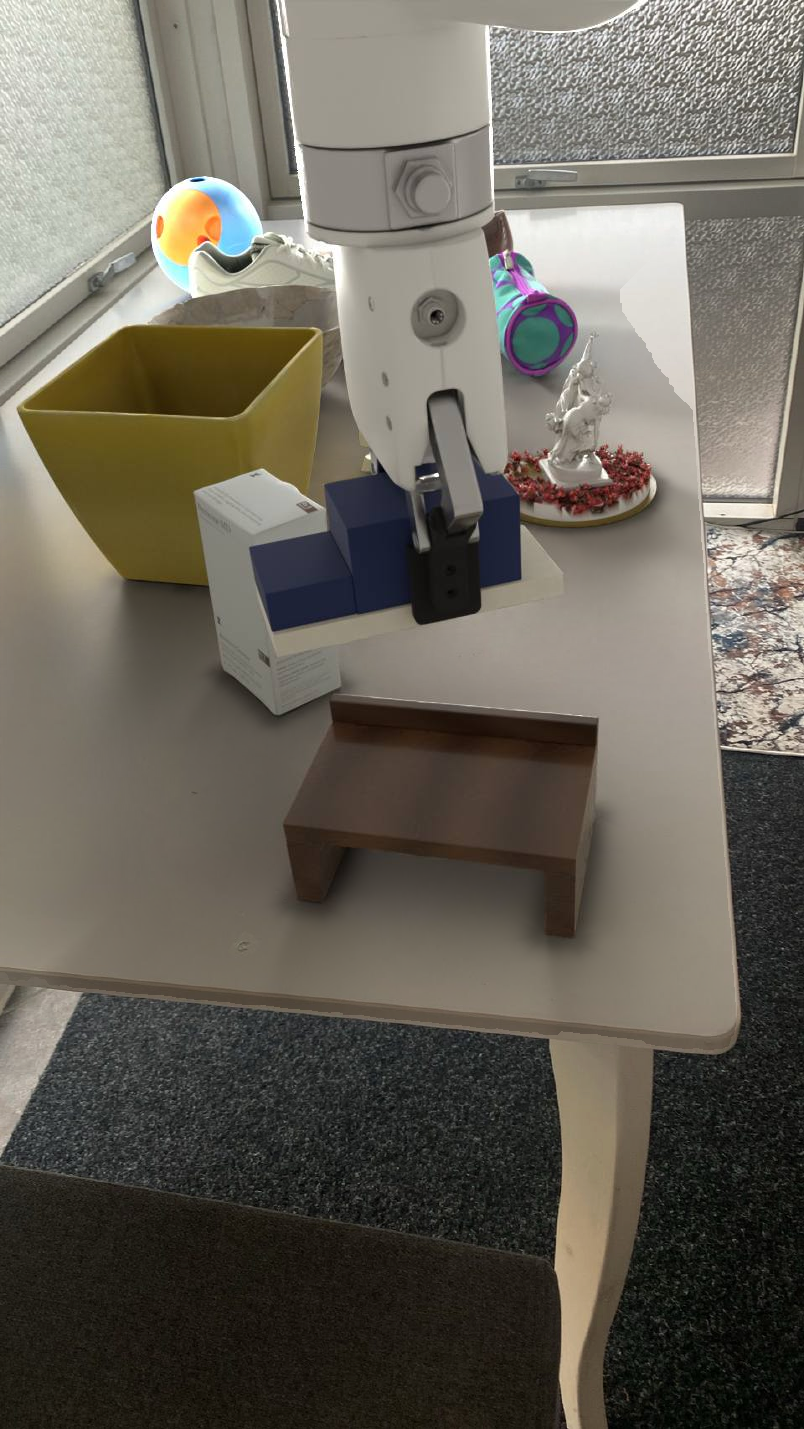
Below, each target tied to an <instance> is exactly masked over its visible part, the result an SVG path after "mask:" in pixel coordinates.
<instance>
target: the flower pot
mask: <svg viewBox="0 0 804 1429" xmlns="http://www.w3.org/2000/svg"><path fill="white" fill-rule="evenodd" d="M322 345H323V343H322V331H321V330H320V329H317V328H296V327H252V326H199V325H147V324H141V323H139V324H128V325H123V326H121V327H119V328H118V329H116V330H115V331H113V332H112V333H111V334H109V335H108V336H107V337H105V339H103V340H102V341H100V342H99V343H98V344H97V345H95V346H94V347H92V348H91V349H90V350H88V351H87V352H85V354H83V355H82V356H80V357H79V358H77V359H76V360H75V361H74V362H72V363H71V364H70V365H69V366H66V368H65V369H64V370H62V371H61V372H59V373H58V374H56V375H55V376H54V377H52V378H51V379H50V380H49V381H48V382H46V383H45V384H44V385H43V386H41V387H40V388H38V389H37V390H36V391H35V392H33V393H32V394H31V395H29V396H28V397H27V398H25V399H24V400H22V402H19V404H18V405H17V406H16V412H17V414H18V417H19V419H20V421H21V423H22V426H23V427H24V430H25V432H26V433H27V435H28V437H29V439H30V442H31V444H32V445H33V447H34V450H35V451H36V453H37V455H38V457H39V459H40V461H41V462H42V464H43V466H44V468H45V469H46V471H47V473H48V475H49V477H50V478H51V480H52V482H53V483H54V485H55V487H56V489H57V490H58V492H59V493H60V495H61V497H62V498H63V500H64V501H65V503H66V505H67V506H68V507H69V509H70V511H71V512H72V514H73V515H74V517H75V519H76V520H77V521H78V522H79V524H80V525H81V526H82V528H83V529H84V531H85V532H86V534H87V535H88V536H89V538H90V539H91V541H92V542H93V543H94V544H95V546H96V547H97V548H98V550H99V551H100V552H101V554H102V555H103V556H104V557H105V559H106V560H107V561H108V563H110V565H111V566H112V567H113V568H114V569H115V570H116V572H117V573H118V575H119V576H121V577H122V578H124V579H126V580H127V579H128V580H139V581H150V582H158V583H159V582H161V583H170V584H171V583H172V584H182V585H183V584H185V585H197V586H207V587H209V582H208V575H207V569H206V563H205V557H204V550H203V544H202V538H201V532H200V526H199V519H198V513H197V508H196V502H195V496H194V491H196V490H198V489H201V488H204V487H207V486H210V485H214V484H217V483H220V482H223V481H226V480H229V479H232V478H234V477H237V476H240V475H243V474H246V473H249V472H252V471H255V470H258V469H264V470H266V471H267V472H268V473H270V474H271V475H273V476H274V477H276V478H277V479H279V480H280V481H282V482H286V483H289V484H291V485H293V486H295V487H296V488H297V489H298V490H299V492H300V493H301V494H302V495H304V496H305V497H307V495H308V490H309V485H310V480H311V474H312V469H313V463H314V457H315V451H316V444H317V435H318V427H319V417H320V409H321V408H320V407H321V394H322V389H321V378H322Z"/></svg>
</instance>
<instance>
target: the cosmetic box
mask: <svg viewBox="0 0 804 1429" xmlns="http://www.w3.org/2000/svg"><path fill="white" fill-rule="evenodd" d="M194 496H195V502H196V508H197V513H198V519H199V526H200V532H201V538H202V544H203V550H204V557H205V563H206V569H207V575H208V582H209V586H208V588H209V594H210V600H211V605H212V611H213V612H212V613H213V616H214V617H213V618H214V623H215V631H216V636H217V643H218V650H219V656H220V661H221V666H222V669H223V671H224V672H226V673H227V674H229V675H230V676H232V677H233V678H235V679H236V680H237V681H238V682H239V683H241V684H242V685H243V686H244V687H245V688H246V689H247V690H249V691H250V692H251V693H252V695H254V696H255V697H256V698H257V699H258V700H260V701H261V702H262V703H263V704H264V706H266V708H268V709H269V711H270V712H271V713H272V714H273V715H275V716H281V715H283V714H285V713H288V712H290V711H292V710H295V709H296V708H299V707H300V706H302V705H304V704H307V703H309V702H311V701H314V700H316V699H318V698H320V697H322V696H324V695H326V694H329V693H331V692H333V691H335V690H337V689H340V688H341V687H342V685H343V684H342V678H341V669H340V668H341V667H340V655H339V644H336V645H331V646H326V647H322V648H317V649H313V650H308V651H304V652H299V653H294V654H290V655H285V656H281V657H277V655H276V652H275V649H274V646H273V643H272V640H271V637H270V634H269V631H268V628H267V625H266V622H265V619H264V616H263V613H262V610H261V607H260V604H259V601H258V596H257V591H256V586H255V578H254V573H253V567H252V562H251V557H250V551H249V547H251V546H256V545H261V544H266V543H271V542H276V541H281V540H286V539H291V538H295V537H300V536H305V535H310V534H315V533H320V532H325V531H328V522H327V520H328V519H327V508H325V507H323V506H322V505H320V504H319V503H316V502H315V501H314V500H312V499H310V498H308V497H307V496H306V497H305V496H304V495H302V494H301V493H300V492H299V490H298V489H297V488H296V487H295V486H293V485H291V484H289V483H286V482H282V481H280V480H279V479H277V478H276V477H274V476H273V475H271V474H270V473H268V472H267V471H266V470H264V469H258V470H255V471H252V472H249V473H246V474H243V475H240V476H237V477H234V478H232V479H229V480H226V481H223V482H220V483H217V484H214V485H210V486H207V487H204V488H201V489H198V490H196V491H194Z"/></svg>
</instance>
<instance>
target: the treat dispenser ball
mask: <svg viewBox="0 0 804 1429" xmlns="http://www.w3.org/2000/svg"><path fill="white" fill-rule="evenodd" d="M151 222H152V223H151V230H150V233H151V234H150V235H151V245H152V250H153V254H154V256H155V259H156V261H157V263H158V265H159V267H160V268H161V270H162V271H163V272H164V274H165V276H167V278H168V279H169V280H170V281H171V282H172V283H173V284H175V285H176V286H177V287H179V288H180V289H182V290H184V291H185V292H187V293H189V294H191V293H190V280H189V259H190V256H191V254H192V253H193V252H194V250H195V249H196V248H197V247H198V246H200V245H201V244H202V243H203V242H207V241H208V242H211V243H212V244H213V245H215V246H216V247H217V248H218V249H219V250H220V251H222V252H223V253H225V254H227V255H231V256H235V255H239V254H241V253H243V252H244V251H245V250H247V249H248V248H249V247H251V244H252V240H253V238H254V237H255V236H257V235H260V236H263V235H264V234H263V227H262V223H261V220H260V217H259V215H258V213H257V211H256V208H255V207H254V206H253V204H252V203H251V201H250V200H249V199H248V197H247V196H246V195H245V194H244V193H243V192H242V191H241V190H240V189H238V188H237V187H236V186H235V185H233V184H231V183H229V182H228V181H225V180H223V179H219V178H215V177H209V176H197V177H191V178H188V179H185V180H183V181H181V182H179V183H177V184H175V185H174V186H173V187H172V188H170V189H169V191H167V192H166V193H165V194H164V195H163V196H162V198H161V199H160V201H159V202H158V204H157V206H156V207H155V210H154V213H153V217H152V221H151Z"/></svg>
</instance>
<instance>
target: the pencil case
mask: <svg viewBox="0 0 804 1429" xmlns="http://www.w3.org/2000/svg"><path fill="white" fill-rule="evenodd" d="M489 262H490V268H491V274H492V281H493V288H494V296H495V304H496V312H497V322H498V332H499V342H500V354H502V356H503V357H504V359H506V360H507V362H508V363H509V364H510V365H511V366H512V367H513V369H515V370H516V371H517V372H519V373H521V374H523V375H526V376H530V377H542V376H544V375H546V374H548V373H550V372H551V371H553V370H554V369H555V368H557V367H558V366H559V365H560V364H561V363H563V362H564V361H565V359H566V358H567V357H568V356H569V355H570V353H571V351H572V350H573V349H574V347H575V345H576V342H577V339H578V336H579V335H578V334H579V324H578V320H577V315H576V313H575V312H574V310H573V309H572V308H571V306H570V305H569V304H568V303H566V302H565V301H564V300H563V299H561V298H559V297H557V296H554V295H552V294H551V293H549V291H548V289H547V288H546V287H545V286H544V285H543V284H542V283H541V282H540V281H539V280H538V279H536V275H535V270H534V266H533V265H532V263H531V262H530V260H529V259H528V258H526V256H525V255H523V254H522V253H520V252H516V251H514V250H513V251H510V252H509V251H508V250H506V251H505V252H502V254H496V255H495V256H493V257H492V258H490V259H489Z"/></svg>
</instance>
